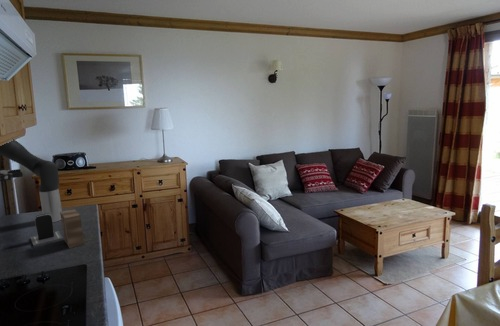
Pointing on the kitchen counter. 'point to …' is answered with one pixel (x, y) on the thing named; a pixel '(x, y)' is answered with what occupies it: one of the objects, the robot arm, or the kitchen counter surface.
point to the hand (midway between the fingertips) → (21, 172)
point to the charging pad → (48, 240)
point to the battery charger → (44, 226)
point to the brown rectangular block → (72, 228)
